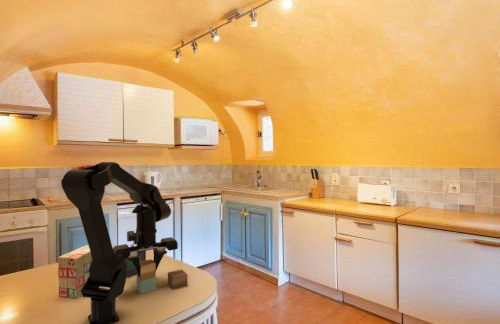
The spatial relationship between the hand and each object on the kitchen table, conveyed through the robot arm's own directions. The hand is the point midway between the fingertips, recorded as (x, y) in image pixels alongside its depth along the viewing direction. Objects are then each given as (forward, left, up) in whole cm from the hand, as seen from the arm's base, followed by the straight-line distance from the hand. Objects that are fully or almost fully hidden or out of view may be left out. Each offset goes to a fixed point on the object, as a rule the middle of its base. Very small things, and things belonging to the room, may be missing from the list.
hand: (146, 274), depth 93 cm
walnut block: (-3, -9, -5) cm, 11 cm away
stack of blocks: (+15, +13, -5) cm, 20 cm away
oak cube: (0, 0, -1) cm, 1 cm away
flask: (+14, +1, -5) cm, 15 cm away
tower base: (0, 0, -5) cm, 5 cm away
